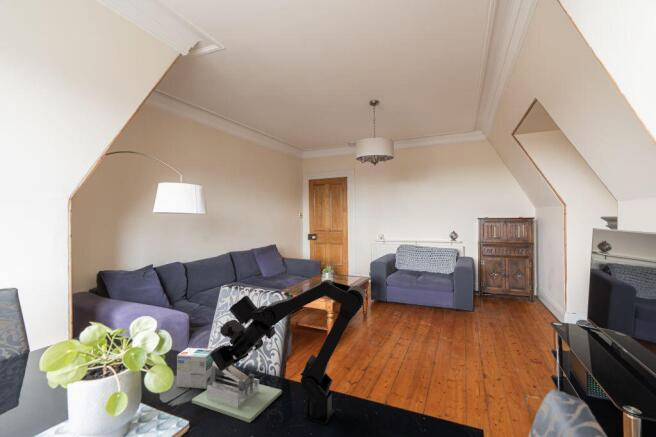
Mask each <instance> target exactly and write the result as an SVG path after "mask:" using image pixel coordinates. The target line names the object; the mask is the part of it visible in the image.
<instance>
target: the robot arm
mask: <svg viewBox="0 0 656 437" xmlns="http://www.w3.org/2000/svg"><path fill="white" fill-rule="evenodd" d="M323 297H327V298H329V299H331V300H333V301H334V302H336V303H338V304H340V306H339V310H338V314H337V317H336V319H335V320H334V323H333V325H332V326H331V328H330V329H329V332H328V334H327V336H326V338H325V340H324V341H323V344H322V345H321V348H320V350H319V352H318V353H317V355H316V356H315V355H314V354H311V355H310V357H309V358H308V360H307V361H306V363H305V365H304V367H303V369H302V371H301V373H300V376H301V378H300V384H301V387H302V389H304V391H305V394H306V398H305V402H306V403H305V405H306V406H305V415H304V419H305V420H310V421H312V422H317V423H319V424H323V425H327V423H328V420H330V418H331V416H332V415H333V414H334V412H335V410H334V409H333V408H332V407H333V406H332V403H333V402H332V401H333V400H332V399H333V398H332V396H333V395H332V394H333V393H332V392H330V388H331V386H332V383H333V379H332V378H331V377H330V375H328V373H327V369H328V368H329V364H330V363H329V362H330V359H331V357H332V356H333V354H334V352H335V350H336V347H337V346H338V344H339V342H340V340H341V338H342V336H343V335H344V332H345V330H346V329H347V327H348V325H349V323H350V322H351V321H352V320H353V318H354V317H355V316H356V314H357V313H358V312H359V311H360V309H361V308H362V306H363V304H364V302H365V299H366V293H365V290H364V289H363V288H362V287H361V286H358V285H348V284H345V283H342V282H341V283H340V282H337V281H333V280H331V279H324V280H322V281H321V282H320V283H318V284H316V285H314V286H312V287H310V288H308V289H306V290H304V291H301V292H300V293H298V294H296V295H294V296H292V297H289V298H285V299H280V300H277V301H276V300H275V301H273V302H271V303H270V304H268V305H261V306H259V307H257V306H256V305H255V303H254V302H253V301H252V300H251V299H250V296H249V295H244V296H243V297H242V298H240V299H239V300H238V301H236V303H234V304H232V305H231V307H230V308H229V309H228V311H229V312H230V313H231V315H232V316H234V318H235V319H231V320H228V321H226V322H225V323H224V324H223V325H221V326H220V331H219V333H220V334H221V335H222V336H223V337H225V338H229V339H230V340H229V341H228V342H229V344H227V345H224V344H222V345H220V346H218V347H215V348H213V349H214V350H213V351H212V352H211V354H210V356H211V357H212V359H213V361H214V362H215V364H216V365H217V367H218V369H219V370H220V371H223V370H225V369H227V368H228V367H230V366H231V365H232V366H233V365H235V364H237V363H238V362H240V361H241V360H243V359H245V358H247V357H249V353H251V352H252V351H253V350H254V352H256V351H258V350H260V349H261V348H262V347H263V346H264V340H263V338H264V337H265V336H266V338H268V340H270V339H271V338H273V336H275V334H276V329H275V325H277V324H278V323H279V322H280V321H282V320H283V319H284V318H286V317H287V316H288V315H289V314H291V313H292V312H294V311H296V310H298V309H300V308H302V307H304V306H307V305H309V304H311V303H313V302H315V301H317V300H319V299H321V298H323ZM248 323H249V324H248ZM244 324H245V325H247V324H248V325H247V326H246V327H245V326H244ZM254 347H255V348H254Z"/></svg>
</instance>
